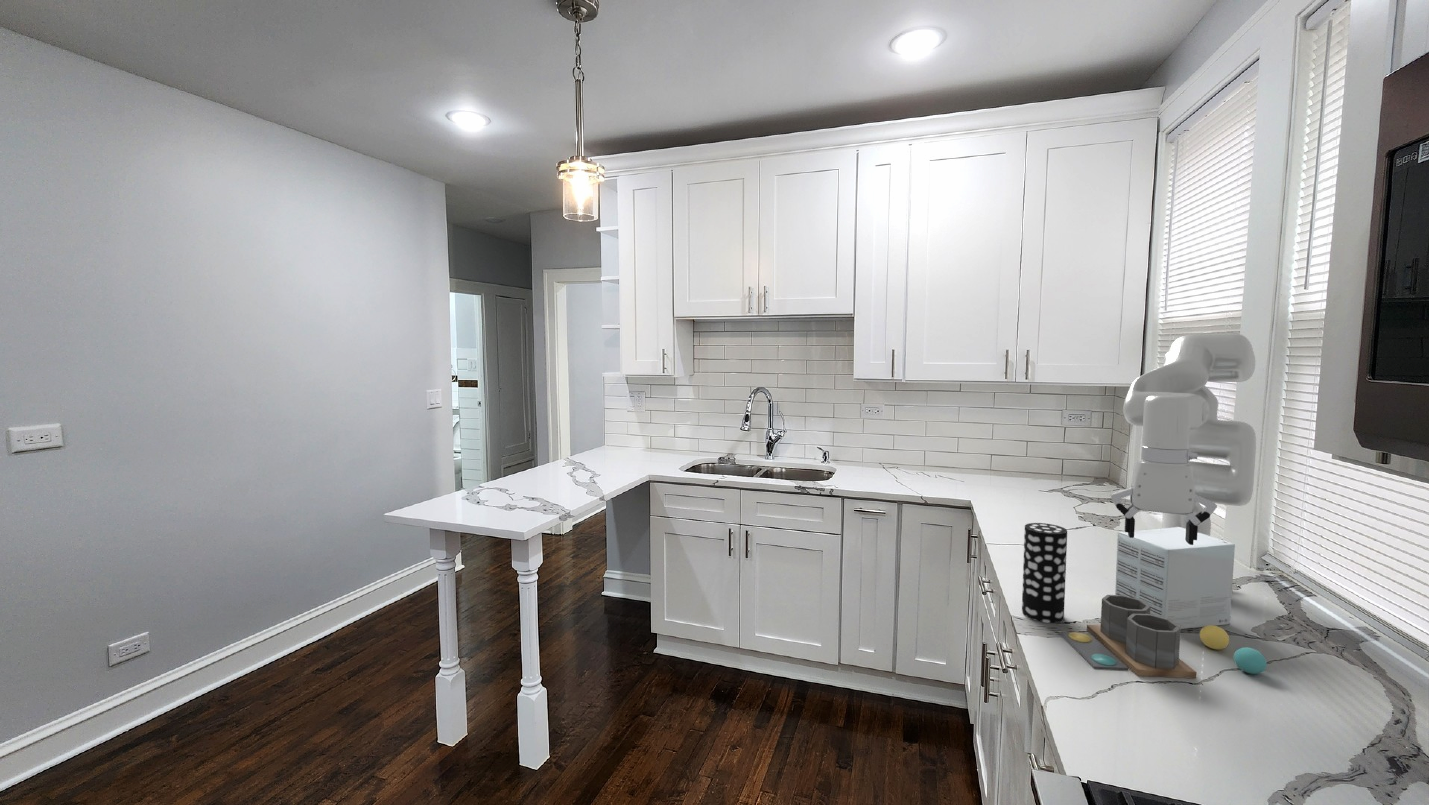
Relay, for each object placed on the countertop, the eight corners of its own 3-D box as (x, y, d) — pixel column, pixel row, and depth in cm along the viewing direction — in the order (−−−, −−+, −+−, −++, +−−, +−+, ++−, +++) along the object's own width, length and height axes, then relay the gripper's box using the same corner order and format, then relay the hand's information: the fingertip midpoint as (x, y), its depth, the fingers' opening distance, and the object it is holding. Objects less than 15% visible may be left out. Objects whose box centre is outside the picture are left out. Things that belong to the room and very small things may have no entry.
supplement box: (1174, 600, 141) (1179, 525, 140) (1232, 625, 128) (1237, 543, 127) (1111, 606, 138) (1115, 530, 137) (1163, 632, 125) (1168, 549, 124)
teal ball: (1252, 666, 112) (1254, 643, 111) (1272, 679, 107) (1274, 655, 107) (1226, 665, 112) (1228, 642, 112) (1245, 678, 108) (1247, 654, 107)
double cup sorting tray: (1136, 631, 126) (1138, 594, 125) (1196, 678, 108) (1198, 634, 107) (1086, 630, 127) (1088, 592, 126) (1137, 675, 109) (1139, 632, 108)
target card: (1089, 634, 125) (1089, 631, 125) (1128, 669, 111) (1128, 666, 111) (1058, 633, 125) (1059, 630, 125) (1094, 668, 111) (1094, 665, 111)
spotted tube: (1059, 609, 137) (1062, 524, 135) (1067, 625, 129) (1071, 535, 127) (1019, 604, 139) (1021, 521, 138) (1025, 620, 132) (1028, 532, 130)
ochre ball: (1217, 643, 120) (1218, 621, 120) (1234, 654, 116) (1235, 632, 116) (1193, 642, 121) (1194, 620, 121) (1209, 653, 116) (1210, 631, 116)
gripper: (1214, 457, 119) (1208, 540, 120) (1110, 450, 127) (1106, 529, 128) (1224, 462, 112) (1218, 551, 113) (1114, 455, 120) (1110, 538, 122)
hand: (1159, 539), depth 121 cm, fingers open, 9 cm apart
